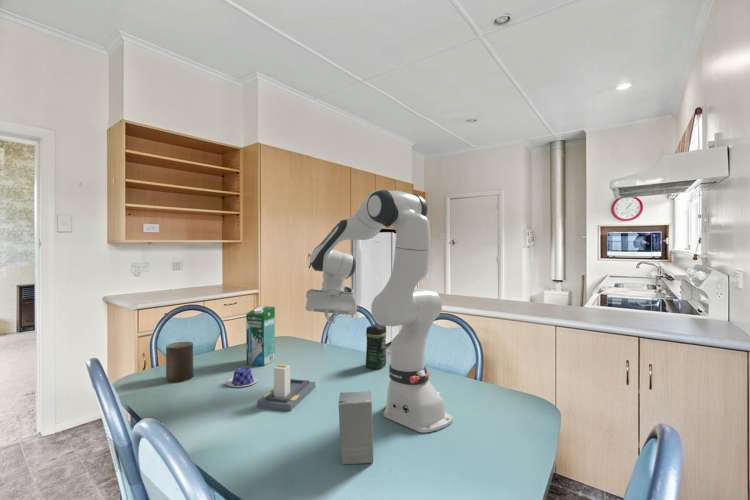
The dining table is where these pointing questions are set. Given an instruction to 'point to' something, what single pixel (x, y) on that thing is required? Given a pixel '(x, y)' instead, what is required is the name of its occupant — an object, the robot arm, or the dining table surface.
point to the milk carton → (260, 335)
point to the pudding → (242, 378)
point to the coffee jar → (376, 346)
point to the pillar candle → (179, 361)
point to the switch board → (297, 394)
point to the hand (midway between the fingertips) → (330, 322)
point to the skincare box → (355, 428)
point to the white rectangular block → (281, 381)
